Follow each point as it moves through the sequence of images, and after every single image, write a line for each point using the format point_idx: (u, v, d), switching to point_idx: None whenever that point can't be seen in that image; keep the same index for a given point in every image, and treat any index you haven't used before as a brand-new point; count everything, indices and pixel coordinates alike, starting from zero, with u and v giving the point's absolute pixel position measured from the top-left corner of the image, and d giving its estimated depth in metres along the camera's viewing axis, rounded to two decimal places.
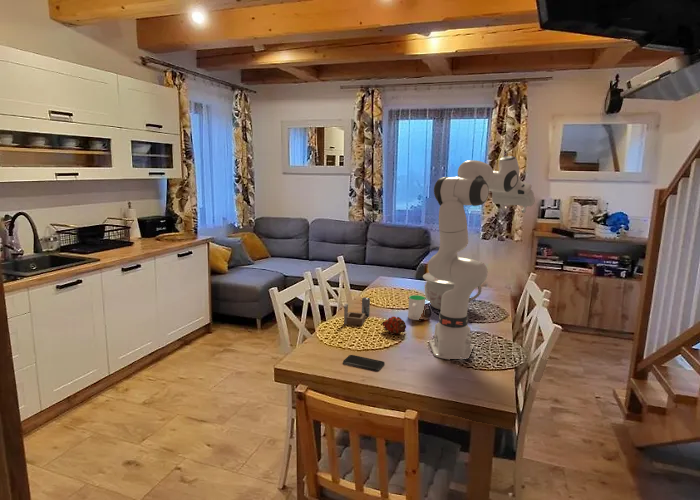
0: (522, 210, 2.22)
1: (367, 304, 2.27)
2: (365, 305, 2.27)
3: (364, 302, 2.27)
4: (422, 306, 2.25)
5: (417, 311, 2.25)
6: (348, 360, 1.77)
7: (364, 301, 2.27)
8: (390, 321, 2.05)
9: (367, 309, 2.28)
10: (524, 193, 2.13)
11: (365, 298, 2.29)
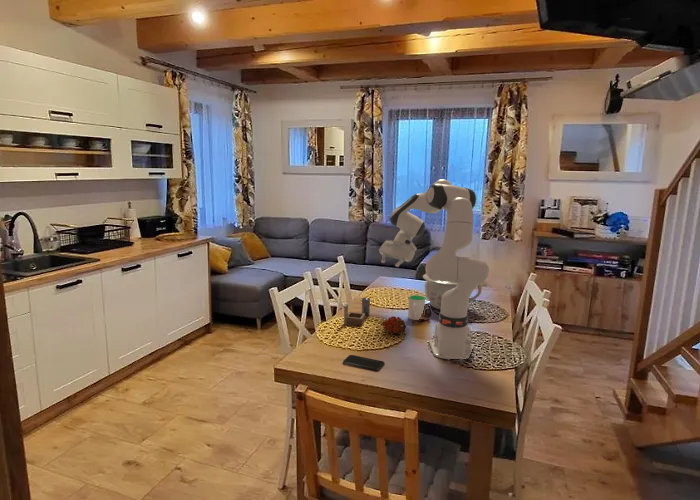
0: (396, 262, 2.34)
1: (367, 304, 2.27)
2: (365, 305, 2.27)
3: (364, 302, 2.27)
4: (422, 306, 2.25)
5: (417, 311, 2.25)
6: (348, 360, 1.77)
7: (364, 301, 2.27)
8: (390, 321, 2.05)
9: (367, 309, 2.28)
10: (409, 243, 2.34)
11: (365, 298, 2.29)
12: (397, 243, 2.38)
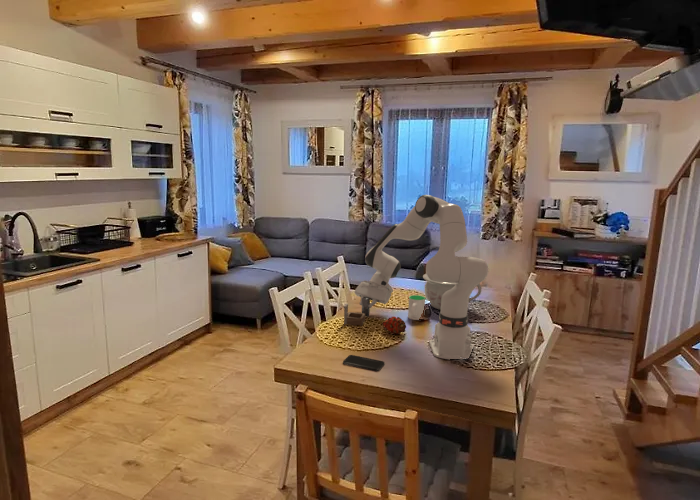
0: (369, 303, 2.27)
1: (367, 304, 2.27)
2: (365, 305, 2.27)
3: (364, 302, 2.27)
4: (422, 306, 2.25)
5: (417, 311, 2.25)
6: (348, 360, 1.77)
7: (364, 301, 2.27)
8: (390, 321, 2.05)
9: (367, 309, 2.28)
10: (385, 285, 2.27)
11: (365, 298, 2.29)
12: (373, 284, 2.31)
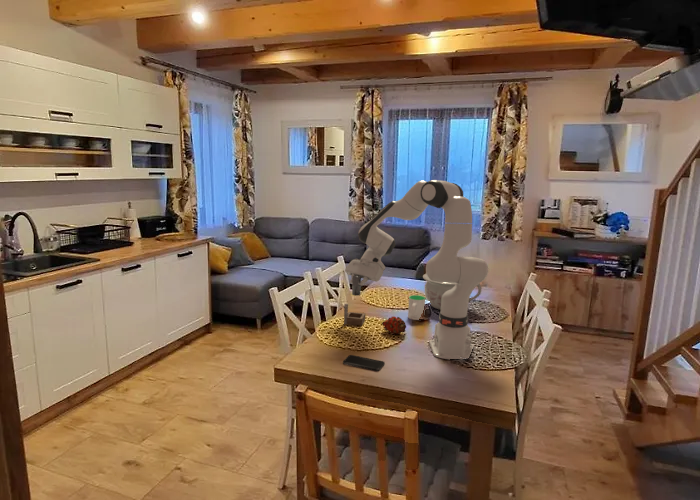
0: (360, 281, 2.15)
1: (358, 282, 2.15)
2: (356, 283, 2.15)
3: (355, 280, 2.15)
4: (422, 306, 2.25)
5: (417, 311, 2.25)
6: (348, 360, 1.77)
7: (355, 279, 2.15)
8: (390, 321, 2.05)
9: (358, 287, 2.16)
10: (377, 261, 2.14)
11: (356, 276, 2.16)
12: (364, 261, 2.19)
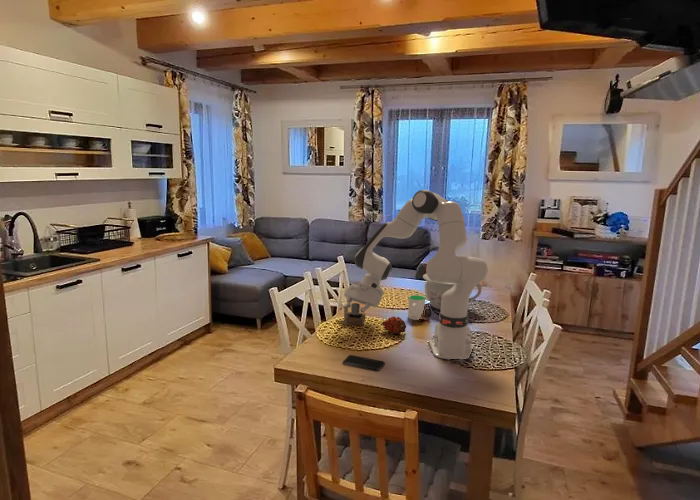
0: None
1: (357, 310, 2.18)
2: (354, 311, 2.17)
3: (353, 308, 2.17)
4: (422, 306, 2.25)
5: (417, 311, 2.25)
6: (348, 360, 1.77)
7: (353, 307, 2.17)
8: (390, 321, 2.05)
9: (357, 315, 2.18)
10: (376, 287, 2.17)
11: (354, 304, 2.19)
12: (363, 286, 2.21)
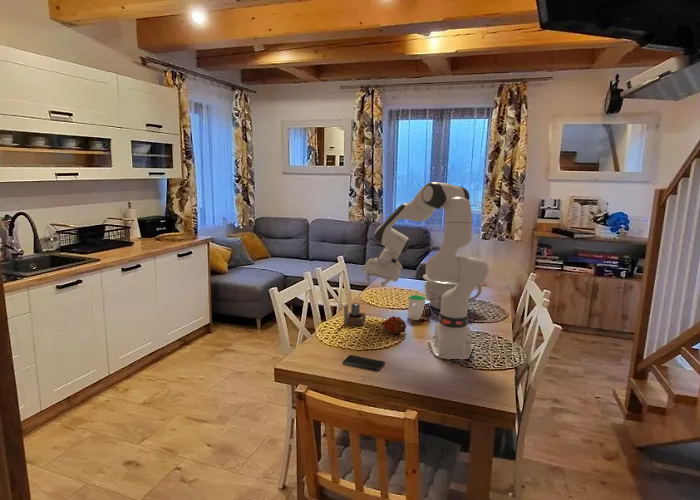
0: (382, 282, 2.24)
1: (357, 310, 2.18)
2: (354, 311, 2.17)
3: (353, 308, 2.17)
4: (422, 306, 2.25)
5: (417, 311, 2.25)
6: (348, 360, 1.77)
7: (353, 307, 2.17)
8: (390, 321, 2.05)
9: (357, 315, 2.18)
10: (396, 262, 2.24)
11: (355, 304, 2.19)
12: (382, 261, 2.28)
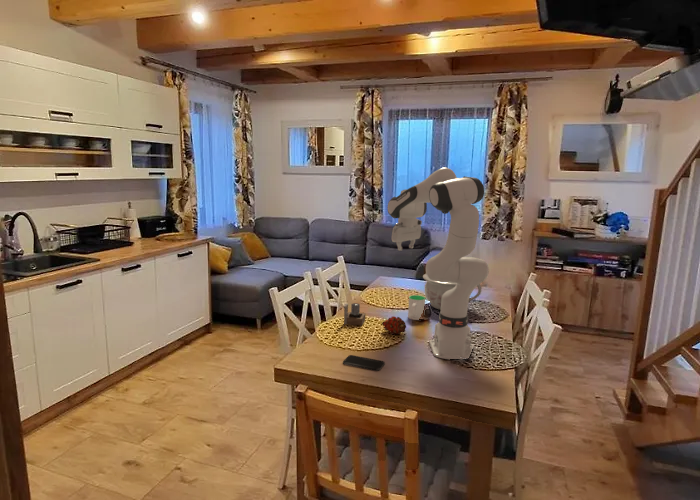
0: (412, 245, 2.30)
1: (357, 310, 2.18)
2: (354, 311, 2.17)
3: (353, 308, 2.17)
4: (422, 306, 2.25)
5: (417, 311, 2.25)
6: (348, 360, 1.76)
7: (353, 307, 2.17)
8: (390, 321, 2.05)
9: (357, 315, 2.18)
10: (420, 223, 2.29)
11: (355, 304, 2.19)
12: (412, 227, 2.24)
